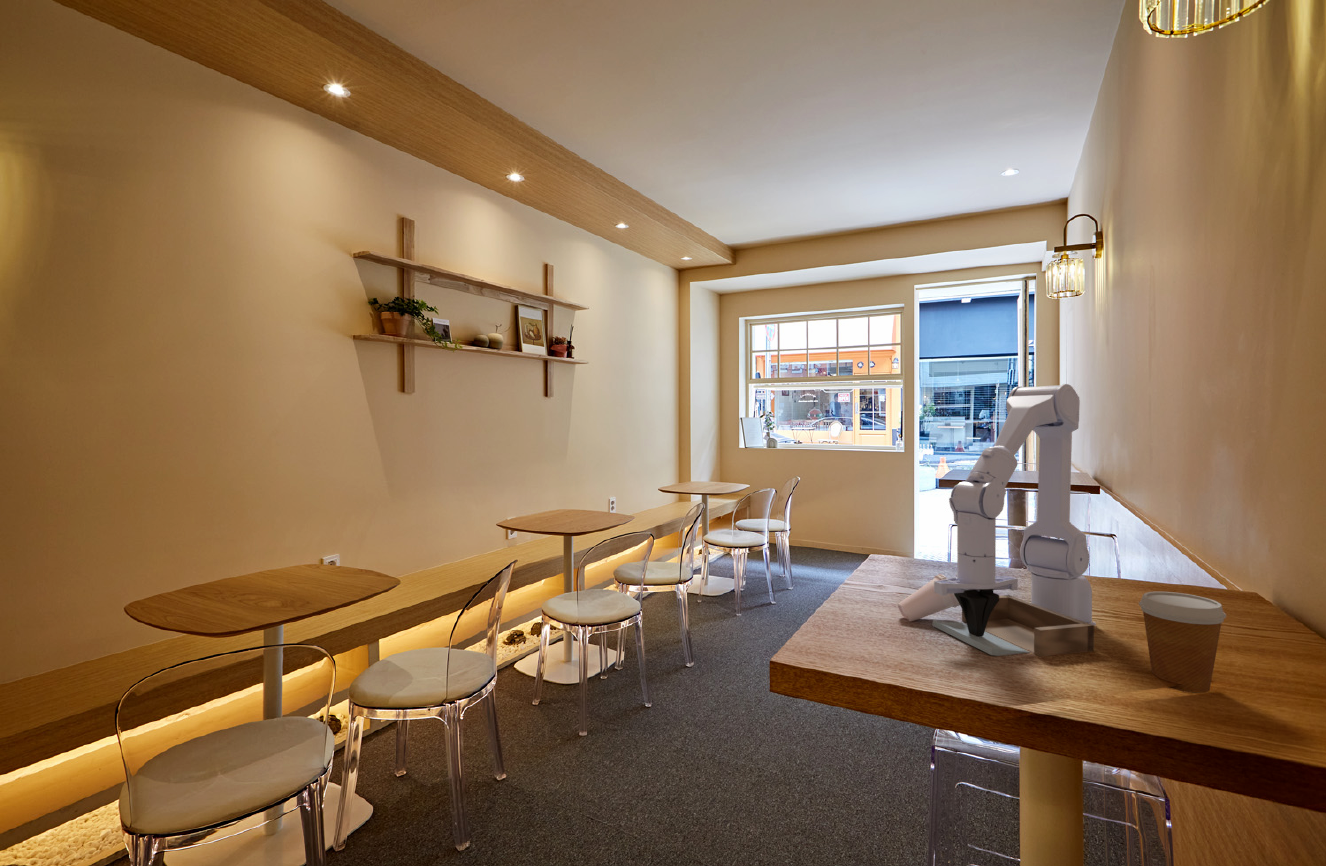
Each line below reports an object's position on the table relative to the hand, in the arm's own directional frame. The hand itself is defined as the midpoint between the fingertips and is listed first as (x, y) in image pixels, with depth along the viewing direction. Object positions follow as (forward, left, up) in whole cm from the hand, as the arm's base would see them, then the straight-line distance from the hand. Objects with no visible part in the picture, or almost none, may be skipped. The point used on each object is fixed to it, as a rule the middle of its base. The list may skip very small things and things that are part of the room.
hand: (976, 634), depth 104 cm
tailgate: (-4, 0, -1) cm, 4 cm away
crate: (-9, 0, -2) cm, 9 cm away
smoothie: (+6, -12, 0) cm, 13 cm away
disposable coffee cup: (-17, +20, -2) cm, 26 cm away
